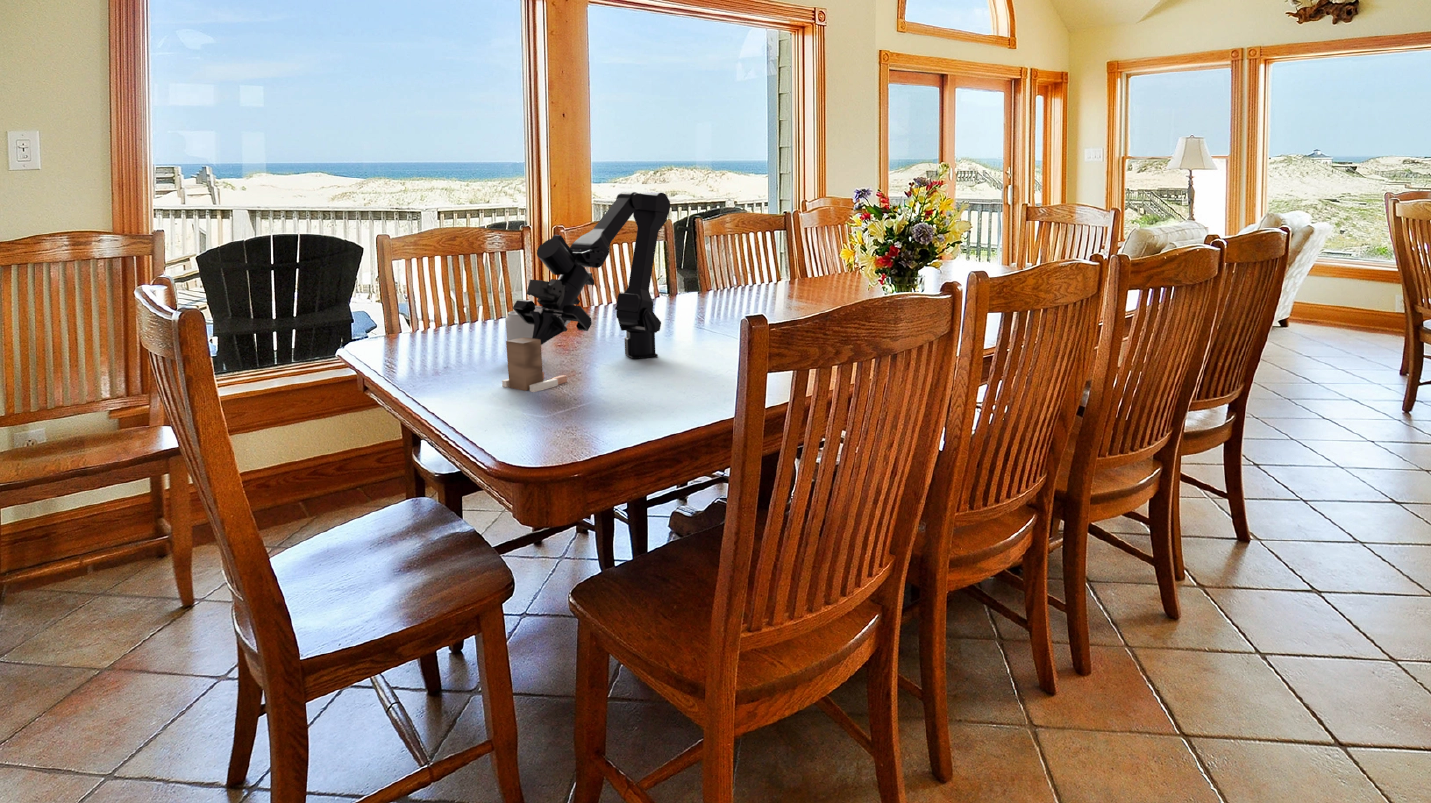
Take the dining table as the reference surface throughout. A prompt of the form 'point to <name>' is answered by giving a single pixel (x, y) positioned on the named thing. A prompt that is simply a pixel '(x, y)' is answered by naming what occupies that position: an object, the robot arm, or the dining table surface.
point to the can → (517, 327)
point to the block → (524, 362)
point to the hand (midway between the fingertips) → (533, 346)
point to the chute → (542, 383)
